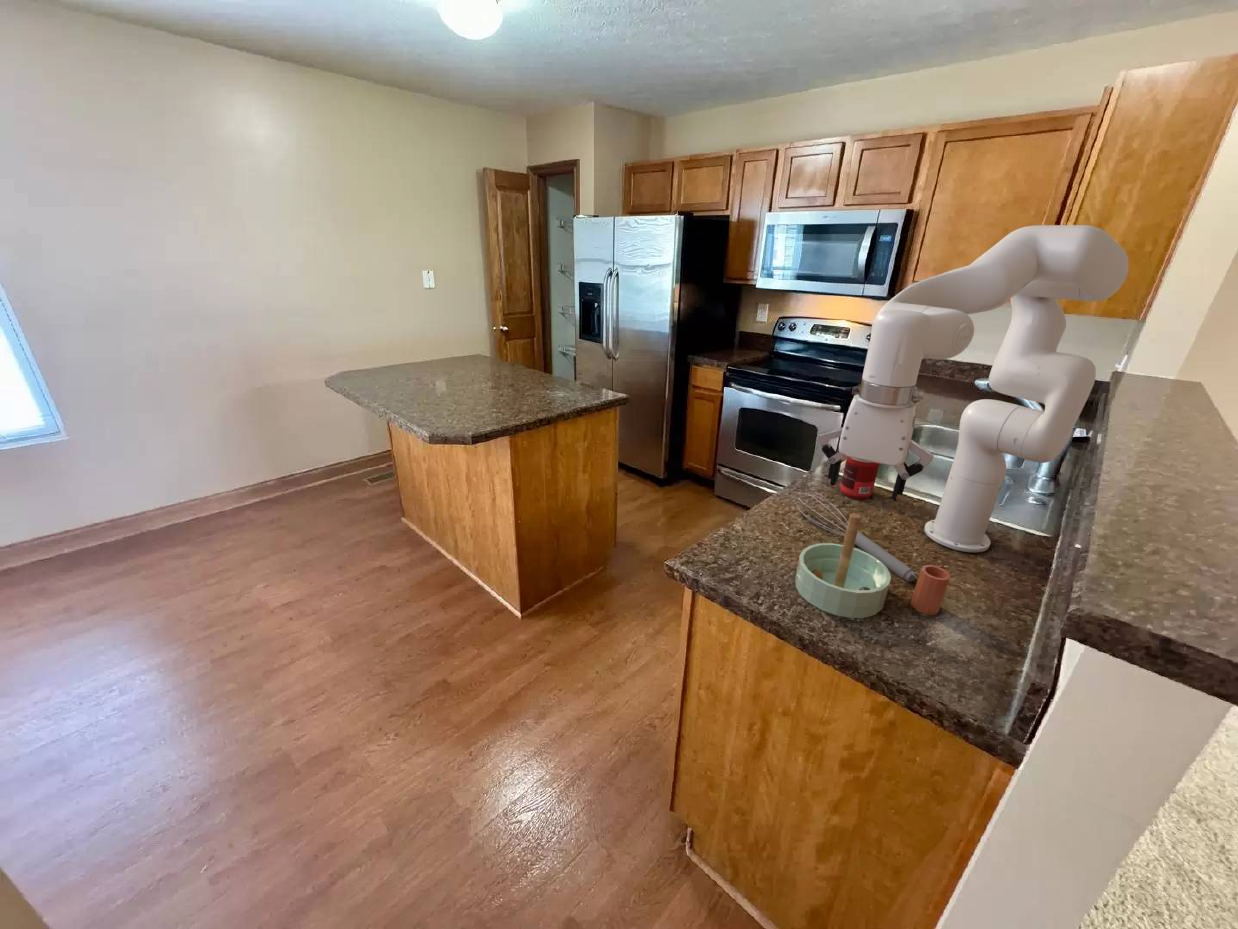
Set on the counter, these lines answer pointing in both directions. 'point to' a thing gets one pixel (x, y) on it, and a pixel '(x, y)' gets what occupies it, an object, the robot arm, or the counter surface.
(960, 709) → the counter surface
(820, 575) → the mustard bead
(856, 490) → the canned food
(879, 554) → the kitchen whisk
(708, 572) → the counter surface
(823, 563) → the mixing bowl
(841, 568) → the stirring stick
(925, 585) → the utensil pot
